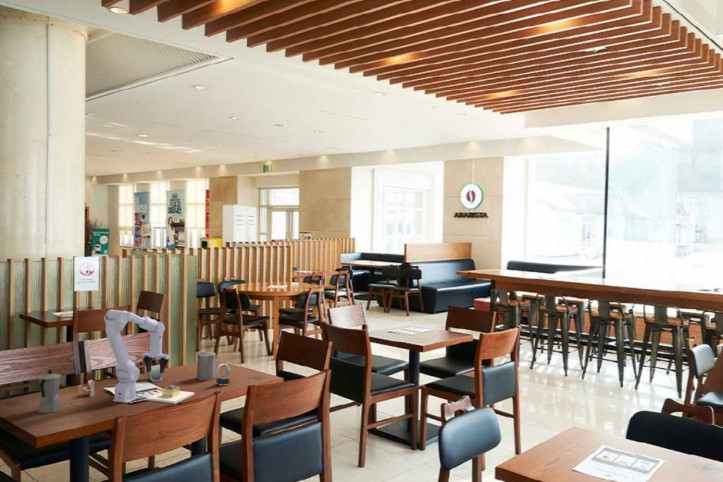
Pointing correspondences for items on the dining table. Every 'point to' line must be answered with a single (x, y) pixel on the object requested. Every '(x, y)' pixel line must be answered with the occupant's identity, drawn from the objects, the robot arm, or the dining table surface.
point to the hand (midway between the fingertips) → (155, 372)
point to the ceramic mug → (153, 374)
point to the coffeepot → (49, 392)
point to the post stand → (174, 400)
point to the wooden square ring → (170, 392)
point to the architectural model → (90, 388)
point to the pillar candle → (206, 365)
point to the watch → (223, 379)
